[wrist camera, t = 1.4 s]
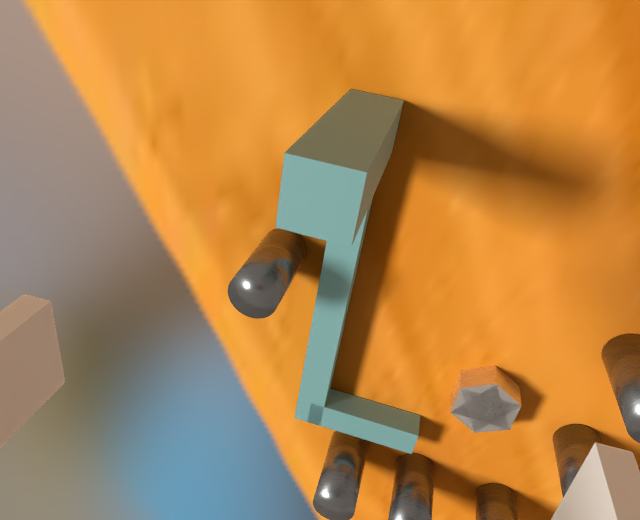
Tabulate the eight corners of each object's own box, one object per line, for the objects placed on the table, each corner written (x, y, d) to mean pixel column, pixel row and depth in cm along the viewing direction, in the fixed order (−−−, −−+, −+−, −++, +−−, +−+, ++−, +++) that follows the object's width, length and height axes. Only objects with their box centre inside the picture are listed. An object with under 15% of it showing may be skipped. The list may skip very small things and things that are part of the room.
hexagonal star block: (525, 372, 34) (528, 393, 33) (502, 419, 37) (503, 441, 35) (465, 355, 35) (465, 375, 33) (446, 403, 37) (445, 423, 36)
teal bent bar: (350, 88, 28) (284, 152, 18) (525, 126, 27) (559, 218, 17) (295, 397, 41) (238, 538, 30) (414, 433, 39) (394, 593, 29)
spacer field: (674, 328, 30) (716, 400, 25) (546, 526, 41) (558, 605, 35) (265, 223, 34) (229, 267, 29) (243, 429, 44) (213, 489, 39)
